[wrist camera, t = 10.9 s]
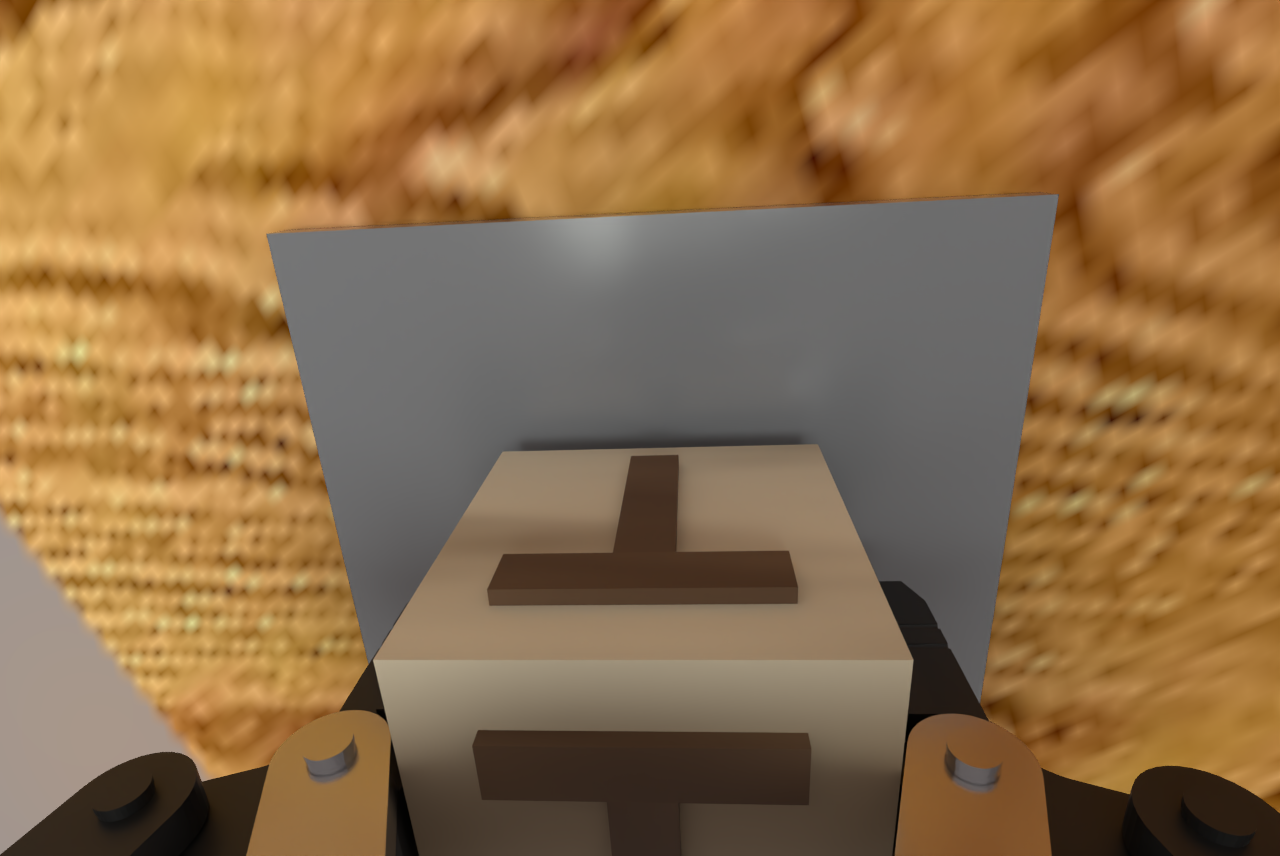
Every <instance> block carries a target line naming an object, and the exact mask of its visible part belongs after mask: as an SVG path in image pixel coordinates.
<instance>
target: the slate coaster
mask: <svg viewBox="0 0 1280 856" xmlns="http://www.w3.org/2000/svg"><path fill="white" fill-rule="evenodd" d="M1058 196H1059V194H1050V193H1041V192H1035V193H1015V194H995V195H975V196H955V197H935V198H915V199H895V200H875V201H856V202H836V203H816V204H796V205H776V206H756V207H736V208H716V209H696V210H676V211H656V212H636V213H616V214H596V215H576V216H557V217H537V218H517V219H497V220H477V221H457V222H437V223H417V224H397V225H377V226H357V227H337V228H317V229H297V230H284V231H279V232H274V233H269V234H267V238H268V242H269V247H270V251H271V255H272V259H273V263H274V268H275V272H276V276H277V280H278V284H279V289H280V293H281V297H282V301H283V305H284V310H285V314H286V318H287V322H288V327H289V331H290V335H291V339H292V343H293V348H294V352H295V356H296V360H297V364H298V369H299V373H300V377H301V381H302V386H303V390H304V394H305V398H306V402H307V407H308V411H309V415H310V419H311V423H312V428H313V432H314V436H315V440H316V445H317V449H318V453H319V457H320V461H321V466H322V470H323V474H324V478H325V482H326V487H327V491H328V495H329V499H330V504H331V508H332V512H333V516H334V520H335V525H336V529H337V533H338V537H339V541H340V546H341V550H342V554H343V558H344V562H345V567H346V571H347V575H348V579H349V584H350V588H351V592H352V596H353V600H354V605H355V609H356V613H357V617H358V621H359V626H360V630H361V634H362V638H363V643H364V647H365V651H366V655H367V659H368V664H369V663H370V662H371V660H372V658H373V657H374V655H375V654H376V652H377V650H378V649H379V648H381V646H382V642H383V641H384V639H385V638H386V636H387V634H388V633H389V631H390V630H392V629H393V625H394V623H395V622H396V620H397V618H398V617H399V615H400V614H401V612H402V610H403V609H404V607H405V606H406V604H407V603H408V602H409V601H410V600H411V598H412V597H413V595H414V593H415V592H416V590H417V588H418V587H419V585H420V584H421V582H422V580H423V579H424V577H425V576H426V574H427V572H428V571H429V569H430V568H431V566H432V564H433V563H434V561H435V560H436V558H437V556H438V555H439V553H440V551H441V550H442V548H443V547H444V545H445V543H446V542H447V540H448V539H449V537H450V535H451V534H452V532H453V531H454V529H455V527H456V526H457V524H458V523H459V521H460V519H461V518H462V516H463V514H464V513H465V511H466V510H467V508H468V506H469V505H470V503H471V502H472V500H473V498H474V497H475V495H476V494H477V492H478V490H479V489H480V487H481V485H482V484H483V482H484V481H485V479H486V477H487V476H488V474H489V473H490V471H491V469H492V468H493V466H494V465H495V463H496V461H497V460H498V458H499V457H500V455H501V453H502V452H507V451H550V450H592V449H635V448H677V447H720V446H762V445H805V444H818V446H819V448H820V450H821V453H822V455H823V457H824V459H825V462H826V464H827V466H828V468H829V471H830V473H831V475H832V477H833V480H834V482H835V484H836V486H837V489H838V491H839V493H840V495H841V498H842V500H843V502H844V504H845V507H846V509H847V511H848V513H849V516H850V518H851V520H852V522H853V525H854V527H855V529H856V531H857V534H858V536H859V538H860V541H861V543H862V545H863V547H864V550H865V552H866V554H867V556H868V558H869V560H870V562H871V565H872V567H873V569H874V571H875V574H876V576H877V578H878V580H879V581H902V582H903V583H904V584H905V585H907V586H908V587H909V588H910V589H912V590H913V591H914V592H915V593H916V594H918V595H919V596H920V597H921V598H923V599H924V600H925V601H926V603H927V605H928V607H929V609H930V611H931V612H932V614H933V616H934V618H935V620H936V622H937V624H938V629H941V631H942V633H943V635H944V637H945V639H946V641H947V643H948V648H949V649H951V650H952V652H953V654H954V656H955V658H956V660H957V662H958V664H959V665H960V667H961V669H962V671H963V673H964V675H965V677H966V679H967V681H968V682H969V684H970V686H971V688H972V690H973V692H974V694H975V696H976V698H977V700H978V701H979V703H980V700H981V693H982V687H983V680H984V674H985V667H986V661H987V654H988V648H989V642H990V635H991V629H992V622H993V616H994V609H995V603H996V596H997V590H998V583H999V577H1000V571H1001V564H1002V558H1003V551H1004V545H1005V538H1006V532H1007V525H1008V519H1009V512H1010V506H1011V500H1012V493H1013V487H1014V480H1015V474H1016V467H1017V461H1018V454H1019V448H1020V441H1021V435H1022V428H1023V422H1024V416H1025V409H1026V403H1027V396H1028V390H1029V383H1030V377H1031V370H1032V364H1033V357H1034V351H1035V345H1036V338H1037V332H1038V325H1039V319H1040V312H1041V306H1042V299H1043V293H1044V286H1045V280H1046V274H1047V267H1048V261H1049V254H1050V248H1051V241H1052V235H1053V228H1054V222H1055V215H1056V209H1057V203H1058Z"/></svg>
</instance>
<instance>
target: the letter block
mask: <svg viewBox="0 0 1280 856" xmlns="http://www.w3.org/2000/svg"><path fill="white" fill-rule="evenodd" d="M373 662H374V666H375V670H376V674H377V679H378V683H379V687H380V692H381V696H382V700H383V704H384V709H385V713H386V717H387V721H388V726H389V730H390V734H391V738H392V743H393V747H394V751H395V755H396V760H397V764H398V768H399V772H400V777H401V781H402V785H403V790H404V794H405V798H406V802H407V807H408V811H409V815H410V819H411V824H412V828H413V832H414V836H415V841H416V845H417V849H418V853H419V856H892V853H893V844H894V835H895V825H896V816H897V807H898V798H899V789H900V780H901V770H902V761H903V752H904V743H905V734H906V724H907V715H908V706H909V697H910V688H911V679H912V669H913V658H912V656H911V653H910V651H909V649H908V647H907V644H906V642H905V640H904V638H903V635H902V633H901V631H900V629H899V626H898V624H897V622H896V620H895V617H894V615H893V613H892V610H891V608H890V606H889V604H888V601H887V599H886V597H885V595H884V592H883V590H882V588H881V586H880V583H879V581H878V579H877V577H876V574H875V572H874V570H873V568H872V565H871V563H870V561H869V559H868V556H867V554H866V552H865V550H864V547H863V545H862V543H861V541H860V538H859V536H858V534H857V531H856V529H855V527H854V525H853V522H852V520H851V518H850V516H849V513H848V511H847V509H846V507H845V504H844V502H843V500H842V498H841V495H840V493H839V491H838V489H837V486H836V484H835V482H834V480H833V477H832V475H831V473H830V471H829V468H828V466H827V464H826V462H825V459H824V457H823V455H822V453H821V450H820V448H819V446H818V444H805V445H762V446H720V447H677V448H635V449H592V450H550V451H507V452H502V453H501V455H500V457H499V458H498V460H497V461H496V463H495V465H494V466H493V468H492V469H491V471H490V473H489V474H488V476H487V477H486V479H485V481H484V482H483V484H482V485H481V487H480V489H479V490H478V492H477V494H476V495H475V497H474V498H473V500H472V502H471V503H470V505H469V506H468V508H467V510H466V511H465V513H464V514H463V516H462V518H461V519H460V521H459V523H458V524H457V526H456V527H455V529H454V531H453V532H452V534H451V535H450V537H449V539H448V540H447V542H446V543H445V545H444V547H443V548H442V550H441V551H440V553H439V555H438V556H437V558H436V560H435V561H434V563H433V564H432V566H431V568H430V569H429V571H428V572H427V574H426V576H425V577H424V579H423V580H422V582H421V584H420V585H419V587H418V588H417V590H416V592H415V593H414V595H413V597H412V598H411V600H410V601H409V603H408V605H407V606H406V608H405V609H404V611H403V613H402V614H401V616H400V617H399V619H398V621H397V622H396V624H395V625H394V627H393V629H392V630H391V632H390V634H389V635H388V637H387V638H386V640H385V642H384V643H383V645H382V646H381V648H380V650H379V651H378V653H377V654H376V656H375V658H374V659H373Z"/></svg>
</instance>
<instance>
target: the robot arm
mask: <svg viewBox="0 0 1280 856" xmlns="http://www.w3.org/2000/svg"><path fill="white" fill-rule="evenodd" d="M868 559H869V558H868ZM869 561H870V560H869ZM870 563H871V562H870ZM872 568H873V567H872ZM873 570H874V569H873ZM874 572H875V571H874ZM876 577H877V576H876ZM877 579H878V578H877ZM878 581H879V580H878ZM879 583H880V586H881V588H882V590H883V592H884V595H885V597H886V599H887V601H888V604H889V606H890V608H891V610H892V613H893V615H894V617H895V620H896V622H897V624H898V626H899V629H900V631H901V633H902V635H903V638H904V640H905V642H906V644H907V647H908V649H909V651H910V653H911V656H912V658H913V669H912V679H911V688H910V697H909V706H908V715H907V724H906V734H905V743H904V752H903V761H902V770H901V780H900V789H899V798H898V807H897V816H896V825H895V835H894V844H893V853H892V856H1280V813H1279V812H1277V811H1276V810H1275V809H1274V808H1272V807H1271V806H1270V805H1269V804H1267V803H1266V802H1265V801H1263V800H1262V799H1261V798H1259V797H1257V796H1256V795H1254V794H1253V793H1251V792H1250V791H1248V790H1246V789H1244V788H1243V787H1241V786H1239V785H1237V784H1235V783H1233V782H1231V781H1229V780H1226V779H1224V778H1222V777H1219V776H1217V775H1214V774H1211V773H1208V772H1205V771H1201V770H1197V769H1193V768H1187V767H1180V766H1161V767H1155V768H1152V769H1148V770H1146V771H1145V772H1143V773H1141V774H1140V775H1139V776H1138V777H1137V778H1136V779H1135V781H1134V784H1133V786H1132V790H1131V793H1130V794H1126V793H1122V792H1118V791H1114V790H1110V789H1106V788H1103V787H1099V786H1095V785H1091V784H1087V783H1083V782H1079V781H1075V780H1072V779H1068V778H1065V777H1062V776H1059V775H1056V774H1054V773H1051V772H1049V771H1047V770H1045V769H1043V768H1041V767H1040V765H1039V762H1038V760H1037V759H1036V757H1035V756H1034V754H1033V753H1032V752H1031V750H1030V749H1029V748H1028V747H1027V746H1026V745H1025V744H1024V743H1023V742H1022V741H1021V740H1019V739H1018V738H1017V737H1016V736H1015V735H1013V734H1012V733H1010V732H1009V731H1007V730H1006V729H1004V728H1002V727H1000V726H998V725H996V724H994V723H992V722H989V720H988V718H987V717H986V715H985V713H984V711H983V709H982V707H981V705H980V703H979V701H978V700H977V698H976V696H975V694H974V692H973V690H972V688H971V686H970V684H969V682H968V681H967V679H966V677H965V675H964V673H963V671H962V669H961V667H960V665H959V664H958V662H957V660H956V658H955V656H954V654H953V652H952V650H951V649H949V648H948V643H947V641H946V639H945V637H944V635H943V633H942V631H941V629H938V624H937V622H936V620H935V618H934V616H933V614H932V612H931V611H930V609H929V607H928V605H927V603H926V601H925V600H924V599H923V598H921V597H920V596H919V595H918V594H916V593H915V592H914V591H913V590H912V589H910V588H909V587H908V586H907V585H905V584H904V583H903V582H902V581H879ZM408 603H409V602H408ZM408 603H407V604H406V606H407V605H408ZM406 606H405V607H404V609H405V608H406ZM404 609H403V610H402V612H401V614H402V613H403V611H404ZM401 614H400V615H399V617H400V616H401ZM399 617H398V618H397V620H396V622H397V621H398V619H399ZM396 622H395V623H394V625H395V624H396ZM394 625H393V627H394ZM390 632H391V630H390V631H389V633H388V634H387V636H386V638H387V637H388V635H389V634H390ZM386 638H385V639H384V641H383V642H382V645H383V643H384V642H385V640H386ZM379 650H380V648H379V649H378V650H377V652H376V654H377V653H378V651H379ZM376 654H375V655H374V657H373V658H372V660H371V662H370V663H369V665H368V666H367V668H366V670H365V671H364V673H363V674H362V676H361V678H360V679H359V681H358V682H357V684H356V686H355V687H354V689H353V690H352V692H351V694H350V695H349V697H348V699H347V700H346V702H345V703H344V705H343V707H342V708H341V710H340V711H339V712H336V713H333V714H329V715H326V716H324V717H321V718H319V719H316V720H314V721H312V722H310V723H308V724H307V725H305V726H303V727H302V728H300V729H299V730H297V731H296V732H295V733H294V734H292V735H291V736H290V737H289V738H288V739H287V740H286V741H285V742H284V743H283V744H282V745H281V746H280V747H279V749H278V750H277V751H276V752H275V754H274V756H273V758H272V759H271V762H270V765H267V766H263V767H260V768H256V769H252V770H248V771H244V772H240V773H236V774H232V775H228V776H224V777H220V778H215V779H211V780H207V781H203V782H202V781H201V779H200V776H199V773H198V771H197V768H196V765H195V764H194V762H193V761H192V759H190V758H189V757H188V756H186V755H183V754H181V753H175V752H160V753H154V754H149V755H145V756H141V757H138V758H135V759H132V760H129V761H127V762H125V763H122V764H120V765H118V766H116V767H114V768H112V769H110V770H108V771H106V772H105V773H103V774H101V775H100V776H98V777H97V778H95V779H94V780H92V781H91V782H89V783H88V784H87V785H85V786H84V787H83V788H82V789H80V790H79V791H78V792H77V793H75V794H74V795H73V796H72V797H71V798H69V799H68V800H67V801H66V802H64V803H63V804H62V805H61V806H59V807H58V808H57V809H56V810H55V811H53V812H52V813H51V814H50V815H48V816H47V817H46V818H45V819H44V820H42V821H41V822H40V823H39V824H37V825H36V826H35V827H34V828H32V829H31V830H30V831H29V832H28V833H26V834H25V835H24V836H23V837H22V838H20V839H19V840H18V841H17V842H15V843H14V844H13V845H12V846H11V847H9V848H8V849H7V850H6V851H4V852H3V853H2V854H1V855H0V856H419V853H418V849H417V845H416V841H415V836H414V832H413V828H412V824H411V819H410V815H409V811H408V807H407V802H406V798H405V794H404V790H403V785H402V781H401V777H400V772H399V768H398V764H397V760H396V755H395V751H394V747H393V743H392V738H391V734H390V730H389V726H388V721H387V717H386V713H385V709H384V704H383V700H382V696H381V692H380V687H379V683H378V679H377V674H376V670H375V666H374V662H373V659H374V658H375V656H376Z"/></svg>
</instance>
